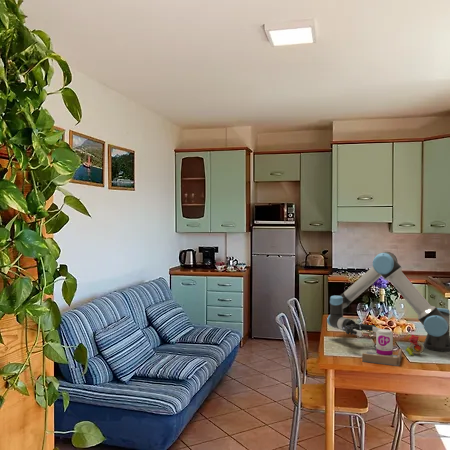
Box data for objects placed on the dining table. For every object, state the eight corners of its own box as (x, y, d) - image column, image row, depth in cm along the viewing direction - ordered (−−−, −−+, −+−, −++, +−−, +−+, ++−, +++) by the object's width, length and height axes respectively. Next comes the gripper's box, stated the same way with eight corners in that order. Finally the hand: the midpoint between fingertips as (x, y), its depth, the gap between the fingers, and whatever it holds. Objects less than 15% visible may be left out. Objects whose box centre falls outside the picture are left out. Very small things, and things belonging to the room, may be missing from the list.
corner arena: (401, 356, 242) (401, 349, 242) (399, 366, 226) (399, 358, 226) (367, 352, 250) (367, 345, 250) (362, 361, 234) (362, 353, 234)
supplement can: (391, 362, 231) (391, 333, 231) (374, 359, 235) (374, 331, 235) (394, 358, 238) (394, 329, 237) (378, 355, 242) (378, 328, 242)
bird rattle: (416, 356, 248) (401, 350, 248) (424, 338, 248) (409, 332, 248) (420, 360, 242) (405, 353, 242) (429, 341, 242) (413, 335, 242)
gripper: (363, 329, 270) (389, 337, 250) (329, 333, 260) (353, 342, 241) (363, 316, 270) (389, 323, 250) (329, 320, 260) (352, 328, 241)
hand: (371, 332), depth 245 cm, fingers open, 13 cm apart
